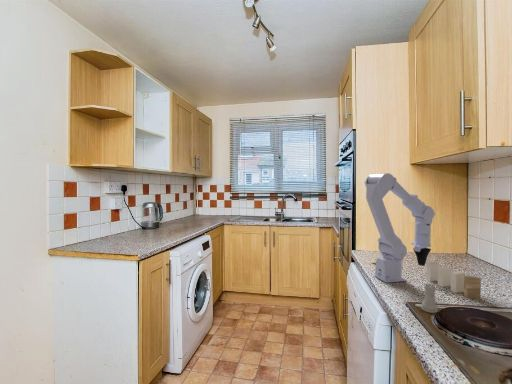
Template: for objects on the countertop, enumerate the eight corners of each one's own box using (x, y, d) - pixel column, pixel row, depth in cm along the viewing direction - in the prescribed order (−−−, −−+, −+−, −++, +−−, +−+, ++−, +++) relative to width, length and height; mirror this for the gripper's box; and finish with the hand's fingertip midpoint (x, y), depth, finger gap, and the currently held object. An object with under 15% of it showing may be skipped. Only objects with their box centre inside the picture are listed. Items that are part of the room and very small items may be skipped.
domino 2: (450, 285, 104) (451, 268, 103) (442, 286, 103) (442, 268, 103) (446, 283, 106) (446, 266, 105) (437, 284, 105) (438, 267, 105)
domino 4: (480, 298, 92) (480, 278, 92) (466, 297, 93) (467, 278, 93) (476, 296, 94) (477, 276, 94) (463, 295, 95) (464, 275, 95)
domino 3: (464, 291, 98) (465, 272, 98) (455, 292, 98) (456, 273, 97) (459, 289, 100) (460, 271, 100) (450, 290, 99) (451, 271, 99)
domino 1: (438, 280, 109) (439, 263, 109) (430, 281, 108) (430, 264, 108) (434, 278, 111) (434, 262, 111) (426, 279, 110) (426, 262, 110)
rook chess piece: (441, 312, 83) (442, 287, 83) (429, 314, 82) (430, 288, 82) (429, 306, 87) (430, 281, 87) (417, 307, 86) (418, 283, 86)
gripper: (417, 229, 122) (416, 259, 123) (406, 234, 112) (405, 266, 113) (435, 232, 117) (434, 262, 118) (425, 237, 107) (424, 270, 108)
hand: (421, 265), depth 115 cm, fingers closed
